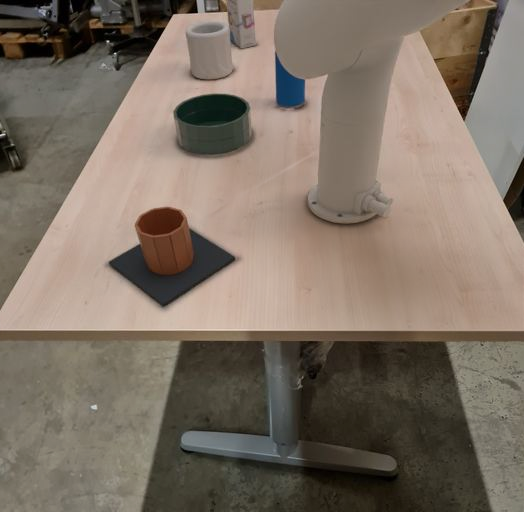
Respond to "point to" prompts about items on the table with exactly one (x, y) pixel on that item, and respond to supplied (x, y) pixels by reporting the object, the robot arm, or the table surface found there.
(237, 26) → the ink box
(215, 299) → the table surface
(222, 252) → the rubber mat
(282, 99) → the beverage can
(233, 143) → the green pot
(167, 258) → the copper pot
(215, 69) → the mug
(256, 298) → the table surface
